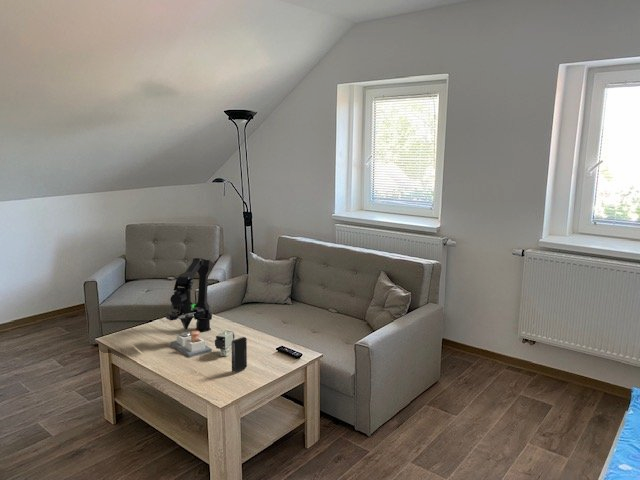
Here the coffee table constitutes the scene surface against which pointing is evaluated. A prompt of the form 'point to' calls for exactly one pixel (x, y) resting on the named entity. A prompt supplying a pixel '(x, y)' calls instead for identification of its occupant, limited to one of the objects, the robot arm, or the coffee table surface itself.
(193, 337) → the plug terracotta
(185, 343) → the board
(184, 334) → the plug metal
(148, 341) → the coffee table surface
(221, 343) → the pneumatic valve
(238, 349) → the phone
